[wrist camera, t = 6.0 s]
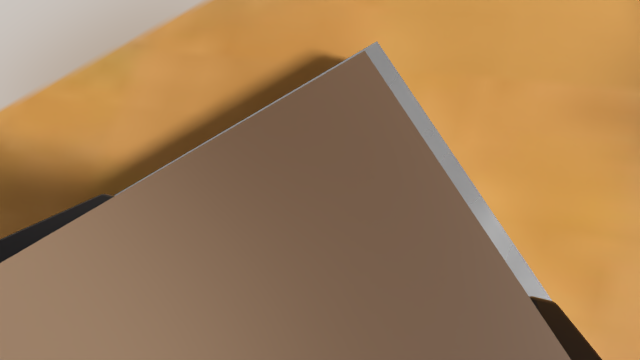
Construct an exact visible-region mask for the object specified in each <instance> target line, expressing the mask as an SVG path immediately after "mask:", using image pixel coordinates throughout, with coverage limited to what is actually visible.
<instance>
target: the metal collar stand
mask: <svg viewBox="0 0 640 360" xmlns="http://www.w3.org/2000/svg"><path fill="white" fill-rule="evenodd" d="M363 51H365V52H366V53H367V55H368V56H369V58H370V59H371V61H372V62H373V64H374V65H375V67H376V68H377V70H378V71H379V73H380V74H381V76H382V77H383V79H384V80H385V82H386V83H387V85H388V86H389V88H390V89H391V91H392V92H393V94H394V95H395V97H396V98H397V100H398V101H399V103H400V104H401V106H402V107H403V109H404V110H405V112H406V113H407V115H408V116H409V118H410V119H411V121H412V122H413V124H414V125H415V127H416V128H417V130H418V131H419V133H420V134H421V136H422V137H423V139H424V140H425V142H426V143H427V145H428V146H429V148H430V149H431V151H432V152H433V154H434V155H435V157H436V158H437V160H438V161H439V163H440V164H441V166H442V167H443V169H444V170H445V172H446V173H447V175H448V176H449V178H450V179H451V181H452V182H453V184H454V185H455V187H456V188H457V190H458V191H459V193H460V194H461V196H462V197H463V199H464V200H465V202H466V203H467V205H468V206H469V208H470V209H471V211H472V212H473V214H474V215H475V217H476V218H477V220H478V221H479V223H480V224H481V226H482V227H483V229H484V230H485V232H486V233H487V235H488V236H489V238H490V239H491V241H492V242H493V244H494V245H495V247H496V248H497V250H498V251H499V253H500V254H501V256H502V257H503V259H504V260H505V262H506V263H507V264H508V266H509V267H510V269H511V270H512V272H513V273H514V275H515V276H516V278H517V279H518V281H519V282H520V284H521V285H522V287H523V288H524V290H525V291H526V293H527V294H528V296H534V297H538V298H542V299H546V300H550V301H552V300H551V299H550V297H549V296H548V294H547V293H546V291H545V290H544V288H543V287H542V285H541V284H540V282H539V281H538V279H537V278H536V276H535V275H534V273H533V272H532V270H531V269H530V267H529V266H528V264H527V263H526V261H525V260H524V259H523V257H522V256H521V254H520V253H519V251H518V250H517V248H516V247H515V245H514V244H513V242H512V241H511V239H510V238H509V236H508V235H507V233H506V232H505V230H504V229H503V227H502V226H501V224H500V223H499V221H498V220H497V219H496V217H495V216H494V214H493V213H492V211H491V210H490V208H489V207H488V205H487V204H486V202H485V201H484V199H483V198H482V196H481V195H480V193H479V192H478V190H477V189H476V187H475V186H474V184H473V183H472V181H471V180H470V179H469V177H468V176H467V174H466V173H465V171H464V170H463V168H462V167H461V165H460V164H459V162H458V161H457V159H456V158H455V156H454V155H453V153H452V152H451V150H450V149H449V147H448V146H447V144H446V143H445V141H444V140H443V139H442V137H441V136H440V134H439V133H438V131H437V130H436V128H435V127H434V125H433V124H432V122H431V121H430V119H429V118H428V116H427V115H426V113H425V112H424V110H423V109H422V107H421V106H420V104H419V103H418V101H417V100H416V99H415V97H414V96H413V94H412V93H411V91H410V90H409V88H408V87H407V85H406V84H405V82H404V81H403V79H402V78H401V76H400V75H399V73H398V72H397V70H396V69H395V67H394V66H393V64H392V63H391V61H390V60H389V59H388V57H387V56H386V54H385V53H384V51H383V50H382V48H381V47H380V45H379V44H378V42H375V43H373V44H372V45H370V46H368V47H366V48H365V49H363V50H361V51H360V52H358V53H356V54H355V55H353V56H351V57H349V58H348V59H346V60H344V61H343V62H341V63H339V64H337V65H336V66H334V67H332V68H331V69H329V70H327V71H326V72H324V73H322V74H320V75H319V76H317V77H315V78H314V79H312V80H310V81H308V82H307V83H305V84H303V85H302V86H300V87H298V88H297V89H295V90H293V91H291V92H290V93H288V94H286V95H285V96H283V97H281V98H279V99H278V100H276V101H274V102H273V103H271V104H269V105H267V106H266V107H264V108H262V109H261V110H259V111H257V112H256V113H254V114H252V115H250V116H249V117H247V118H245V119H244V120H242V121H240V122H238V123H237V124H235V125H233V126H232V127H230V128H228V129H227V130H225V131H223V132H221V133H220V134H218V135H216V136H215V137H213V138H211V139H209V140H208V141H206V142H204V143H203V144H201V145H199V146H198V147H196V148H194V149H192V150H191V151H189V152H187V153H186V154H184V155H182V156H180V157H179V158H177V159H175V160H174V161H172V162H170V163H169V164H171V163H173V162H175V161H176V160H178V159H180V158H181V157H183V156H185V155H187V154H188V153H190V152H192V151H193V150H195V149H197V148H199V147H200V146H202V145H204V144H205V143H207V142H209V141H211V140H212V139H214V138H216V137H217V136H219V135H221V134H223V133H224V132H226V131H228V130H229V129H231V128H233V127H235V126H236V125H238V124H240V123H241V122H243V121H245V120H247V119H248V118H250V117H252V116H253V115H255V114H257V113H259V112H260V111H262V110H264V109H265V108H267V107H269V106H271V105H272V104H274V103H276V102H277V101H279V100H281V99H283V98H284V97H286V96H288V95H289V94H291V93H293V92H295V91H296V90H298V89H300V88H301V87H303V86H305V85H307V84H308V83H310V82H312V81H313V80H315V79H317V78H319V77H320V76H322V75H324V74H325V73H327V72H329V71H331V70H332V69H334V68H336V67H337V66H339V65H341V64H343V63H344V62H346V61H348V60H349V59H351V58H353V57H355V56H356V55H358V54H360V53H361V52H363ZM169 164H167V165H165V166H163V167H162V168H160V169H158V170H157V171H159V170H161V169H163V168H164V167H166V166H168V165H169ZM157 171H155V172H153V173H151V174H150V175H148V176H146V177H145V178H147V177H149V176H151V175H152V174H154V173H156V172H157ZM145 178H143V179H141V180H140V181H142V180H144V179H145ZM140 181H138V182H136V183H134V184H133V185H135V184H137V183H139V182H140ZM133 185H131V186H129V187H128V188H130V187H132V186H133ZM128 188H126V189H124V190H122V191H121V192H123V191H125V190H127V189H128ZM121 192H119V193H117V194H116V195H118V194H120V193H121ZM116 195H114V196H116Z"/></svg>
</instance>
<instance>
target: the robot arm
mask: <svg viewBox="0 0 640 360" xmlns="http://www.w3.org/2000/svg"><path fill="white" fill-rule="evenodd" d="M113 197H115V196H114V195H110V194H101V195H98V196H96V197H94V198H92V199H89V200H87V201H85V202H83V203H80V204H78V205H76V206H74V207H71V208H69V209H67V210H65V211H62V212H60V213H58V214H56V215H54V216H51V217H49V218H47V219H45V220H42V221H40V222H38V223H36V224H33V225H31V226H29V227H27V228H24V229H22V230H20V231H18V232H16V233H13V234H11V235H9V236H7V237H4V238H2V239H0V263H1V262H3V261H5V260H6V259H8V258H10V257H12V256H13V255H15V254H17V253H18V252H20V251H22V250H24V249H25V248H27V247H29V246H30V245H32V244H34V243H36V242H37V241H39V240H41V239H42V238H44V237H46V236H48V235H49V234H51V233H53V232H54V231H56V230H58V229H60V228H61V227H63V226H65V225H66V224H68V223H70V222H72V221H73V220H75V219H77V218H78V217H80V216H82V215H84V214H85V213H87V212H89V211H90V210H92V209H94V208H96V207H97V206H99V205H101V204H103V203H104V202H106V201H108V200H109V199H111V198H113ZM529 297H530V299H531V300H532V302H533V303H534V305H535V306H536V308H537V309H538V311H539V312H540V314H541V315H542V317H543V318H544V320H545V321H546V323H547V324H548V326H549V327H550V329H551V330H552V332H553V333H554V335H555V336H556V338H557V339H558V341H559V342H560V344H561V345H562V347H563V348H564V350H565V351H566V353H567V354H568V356H569V357H570V359H571V360H602V359H601V358H600V356H599V355H598V354H597V353H596V351H595V350H594V349H593V348H592V347H591V345H590V344H589V343H588V342H587V340H586V339H585V338H584V337H583V335H582V334H581V333H580V332H579V331H578V329H577V328H576V327H575V326H574V324H573V323H572V322H571V321H570V320H569V318H568V317H567V316H566V315H565V313H564V312H563V311H562V310H561V308H560V307H559V306H558V305H557V304H556V303H555V302H553V301H550V300H546V299H542V298H538V297H534V296H529Z"/></svg>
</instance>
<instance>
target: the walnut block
mask: <svg viewBox="0 0 640 360" xmlns="http://www.w3.org/2000/svg"><path fill="white" fill-rule="evenodd" d="M0 360H571V359H570V357H569V356H568V354H567V353H566V351H565V350H564V348H563V347H562V345H561V344H560V342H559V341H558V339H557V338H556V336H555V335H554V333H553V332H552V330H551V329H550V327H549V326H548V324H547V323H546V321H545V320H544V318H543V317H542V315H541V314H540V312H539V311H538V309H537V308H536V306H535V305H534V303H533V302H532V300H531V299H530V297H529V296H528V294H527V293H526V291H525V290H524V288H523V287H522V285H521V284H520V282H519V281H518V279H517V278H516V276H515V275H514V273H513V272H512V270H511V269H510V267H509V266H508V264H507V263H506V262H505V260H504V259H503V257H502V256H501V254H500V253H499V251H498V250H497V248H496V247H495V245H494V244H493V242H492V241H491V239H490V238H489V236H488V235H487V233H486V232H485V230H484V229H483V227H482V226H481V224H480V223H479V221H478V220H477V218H476V217H475V215H474V214H473V212H472V211H471V209H470V208H469V206H468V205H467V203H466V202H465V200H464V199H463V197H462V196H461V194H460V193H459V191H458V190H457V188H456V187H455V185H454V184H453V182H452V181H451V179H450V178H449V176H448V175H447V173H446V172H445V170H444V169H443V167H442V166H441V164H440V163H439V161H438V160H437V158H436V157H435V155H434V154H433V152H432V151H431V149H430V148H429V146H428V145H427V143H426V142H425V140H424V139H423V137H422V136H421V134H420V133H419V131H418V130H417V128H416V127H415V125H414V124H413V122H412V121H411V119H410V118H409V116H408V115H407V113H406V112H405V110H404V109H403V107H402V106H401V104H400V103H399V101H398V100H397V98H396V97H395V95H394V94H393V92H392V91H391V89H390V88H389V86H388V85H387V83H386V82H385V80H384V79H383V77H382V76H381V74H380V73H379V71H378V70H377V68H376V67H375V65H374V64H373V62H372V61H371V59H370V58H369V56H368V55H367V53H366V52H365V51H363V52H361V53H360V54H358V55H356V56H355V57H353V58H351V59H349V60H348V61H346V62H344V63H343V64H341V65H339V66H337V67H336V68H334V69H332V70H331V71H329V72H327V73H325V74H324V75H322V76H320V77H319V78H317V79H315V80H313V81H312V82H310V83H308V84H307V85H305V86H303V87H301V88H300V89H298V90H296V91H295V92H293V93H291V94H289V95H288V96H286V97H284V98H283V99H281V100H279V101H277V102H276V103H274V104H272V105H271V106H269V107H267V108H265V109H264V110H262V111H260V112H259V113H257V114H255V115H253V116H252V117H250V118H248V119H247V120H245V121H243V122H241V123H240V124H238V125H236V126H235V127H233V128H231V129H229V130H228V131H226V132H224V133H223V134H221V135H219V136H217V137H216V138H214V139H212V140H211V141H209V142H207V143H205V144H204V145H202V146H200V147H199V148H197V149H195V150H193V151H192V152H190V153H188V154H187V155H185V156H183V157H181V158H180V159H178V160H176V161H175V162H173V163H171V164H169V165H168V166H166V167H164V168H163V169H161V170H159V171H157V172H156V173H154V174H152V175H151V176H149V177H147V178H145V179H144V180H142V181H140V182H139V183H137V184H135V185H133V186H132V187H130V188H128V189H127V190H125V191H123V192H121V193H120V194H118V195H116V196H115V197H113V198H111V199H109V200H108V201H106V202H104V203H103V204H101V205H99V206H97V207H96V208H94V209H92V210H90V211H89V212H87V213H85V214H84V215H82V216H80V217H78V218H77V219H75V220H73V221H72V222H70V223H68V224H66V225H65V226H63V227H61V228H60V229H58V230H56V231H54V232H53V233H51V234H49V235H48V236H46V237H44V238H42V239H41V240H39V241H37V242H36V243H34V244H32V245H30V246H29V247H27V248H25V249H24V250H22V251H20V252H18V253H17V254H15V255H13V256H12V257H10V258H8V259H6V260H5V261H3V262H1V263H0Z"/></svg>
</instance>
